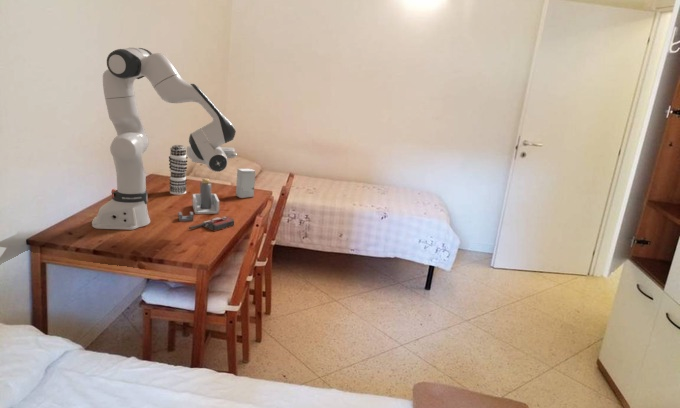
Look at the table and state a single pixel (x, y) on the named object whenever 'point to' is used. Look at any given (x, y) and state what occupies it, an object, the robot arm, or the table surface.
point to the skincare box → (245, 183)
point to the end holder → (212, 210)
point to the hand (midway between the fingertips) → (209, 148)
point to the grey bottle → (205, 194)
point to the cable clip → (185, 217)
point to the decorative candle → (178, 170)
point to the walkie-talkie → (216, 223)
